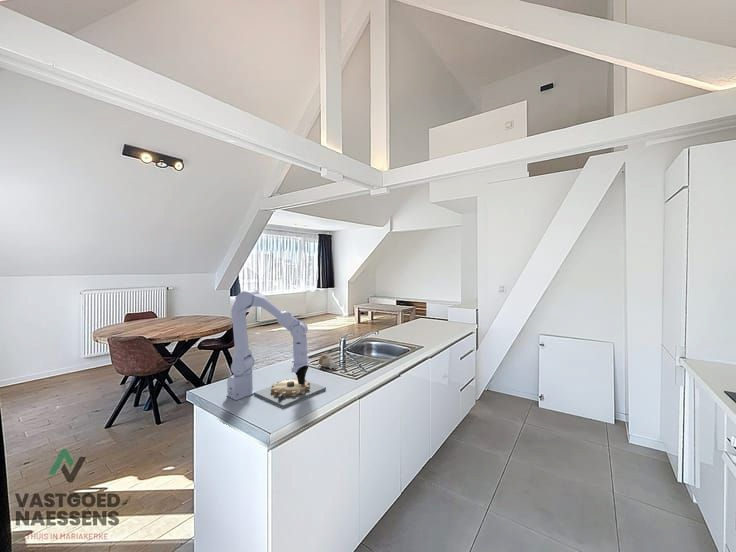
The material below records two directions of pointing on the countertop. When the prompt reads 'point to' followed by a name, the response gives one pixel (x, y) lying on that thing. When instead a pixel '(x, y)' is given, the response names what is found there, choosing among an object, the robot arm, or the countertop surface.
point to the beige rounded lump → (327, 361)
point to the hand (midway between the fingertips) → (301, 383)
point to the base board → (288, 400)
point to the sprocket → (289, 388)
